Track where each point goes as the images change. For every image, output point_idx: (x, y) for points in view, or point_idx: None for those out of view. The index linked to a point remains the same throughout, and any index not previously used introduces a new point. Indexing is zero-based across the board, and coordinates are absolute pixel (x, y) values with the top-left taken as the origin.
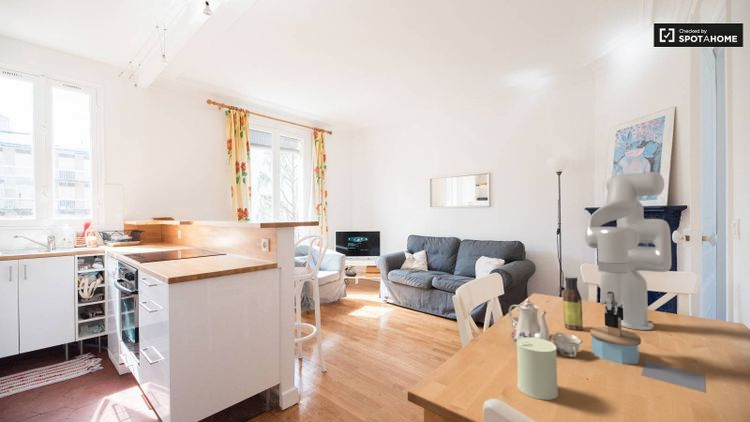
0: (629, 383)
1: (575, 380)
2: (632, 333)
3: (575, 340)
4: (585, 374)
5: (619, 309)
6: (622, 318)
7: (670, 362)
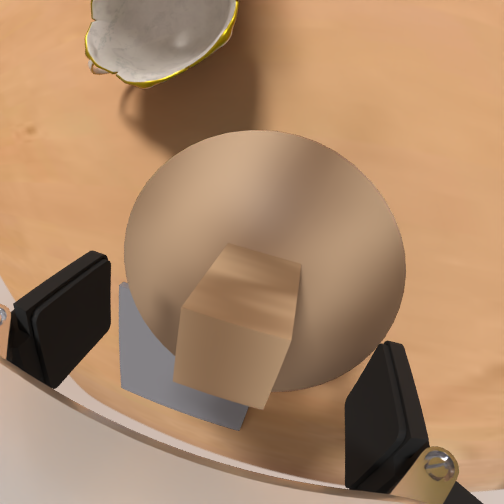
0: (64, 238)
1: (12, 105)
2: (331, 378)
3: (207, 48)
4: (49, 121)
5: (355, 466)
6: (346, 411)
7: (318, 395)
